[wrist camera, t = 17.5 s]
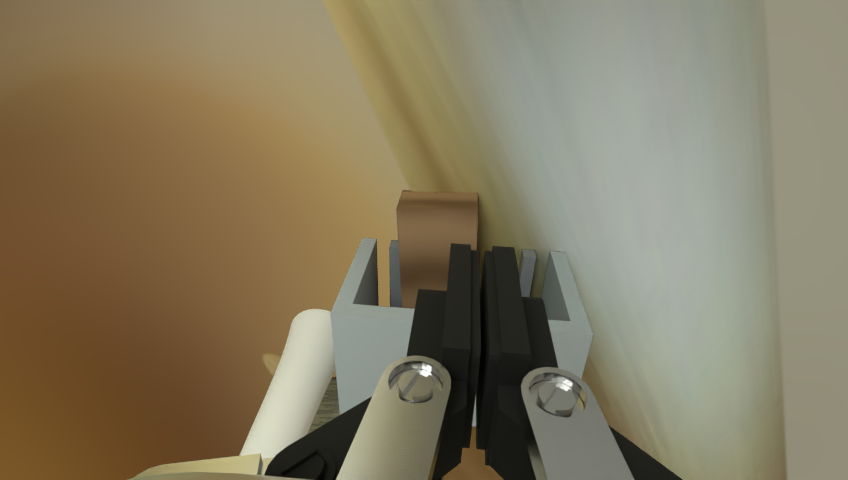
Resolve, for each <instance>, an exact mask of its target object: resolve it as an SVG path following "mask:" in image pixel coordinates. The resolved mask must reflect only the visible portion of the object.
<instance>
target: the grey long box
mask: <svg viewBox="0 0 848 480" xmlns="http://www.w3.org/2000/svg"><path fill="white" fill-rule="evenodd" d="M389 251H390V307H384V306H378V274H377V240H376V239H370V238H362V241H361V243H360V246H359V248H358V250H357V252H356V255H355V257H354V259H353V262H352V264H351V266H350V269H349V271H348V273H347V276H346V278H345V281H344V283H343V285H342V287H341V290H340V292H339V294H338V297H337V299H336V302H335V304H334V306H333V309H332V311H331V313H330V316H331V326H332V337H333V347H334V358H335V368H336V378H337V389H338V399H339V410H340V413H341V414H343V413H344V412H346V411H348V410H349V409H351V408H353V407H354V406H356V405H358V404H360V403H361V402H363V401H365V400H366V399H368V398H370V397H371V396H373V394H374V391H375V389H376V387H377V385H378V382H379V380H380V378H381V375H382V373H383V372H384V370H385V369H386V367H387V366H388V365H390V364H391V363H392V362H394V361H395V360H398V359H400V358H402V357H406V356H407V350H408V344H409V339H410V333H411V327H412V322H413V316H414V310H415V309H410V308H402V299H401V281H400V263H399V245H398V240H392V241H391V244H390V248H389ZM535 262H536V254H535V250H527V249H522V255H521V261H520V267H519V280H520V287H521V293H522V297H529V296H530V290H531V284H532V279H533V273H534V268H535ZM541 298H542V299H543V301H544V305H545V309H546V314H547V318H548V323H549V327H550V332H551V336H552V341H553V345H554V350H555V354H556V359H557V363H558V368H560V369H563V370H566V371H569V372H571V373H572V374H574V375H576V376H578V377H579V378H580V379H581V378H582V374H583V371H584V367H585V364H586V360H587V356H588V353H589V349H590V346H591V342H592V339H593V332H592V330H591V327H590V324H589V321H588V318H587V315H586V312H585V309H584V306H583V303H582V300H581V297H580V294H579V292H578V289H577V286H576V283H575V280H574V277H573V274H572V271H571V268H570V265H569V262H568V259H567V256H566V254H565V252H555V251H550V255H549V261H548V266H547V271H546V276H545V281H544V286H543V292H542V297H541ZM472 426H476V397H475V405H474V413H473V422H472Z"/></svg>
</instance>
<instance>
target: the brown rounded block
mask: <svg viewBox="0 0 848 480" xmlns="http://www.w3.org/2000/svg"><path fill="white" fill-rule="evenodd" d="M397 226H398V245H399V263H400V281H401V299H402V308H410V309H415V305H416V299H417V293H418V289H430V290H443V291H447V283H448V271H449V259H450V247H451V243H456V244H470V245H471V250H476V249H477V226H478V193H453V192H411V191H410V190H403V191H402V194H401V197H400V200H399V203H398V206H397Z"/></svg>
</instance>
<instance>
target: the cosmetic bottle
mask: <svg viewBox="0 0 848 480" xmlns="http://www.w3.org/2000/svg"><path fill="white" fill-rule="evenodd" d="M330 313H331V312H330V311H327V310H323V309H309V310H305V311H303V312H301V313H299V314H298V315H297V316H296V317H295V318H294V319H293V321H292V324H291V328H290V332H289V335H288V339H287V342H286V345H285V348H284V351H283V354H282V357H281V360H280V362H279V365H278V367H277V370H276V372H275V375H274V377H273V380H272V382H271V384H270V387H269V389H268V391H267V394H266V396H265V398H264V401H263V403H262V405H261V408H260V410H259V412H258V414H257V416H256V419H255V421H254V423H253V425H252V428H251V430H250V432H249V435H248V437H247V439H246V442H245V444H244V446H243V449H242V451H241V453H240V456H243V455H251V454H260V453H261V457H262V459H266V458H274V457H275V456H276V454H278V453H279V452H280V451H282V450H283V449H284V448H286V447H287V446H289V445H290V444H292V443H294V442H295V441H297V440H299V439H300V438H302V437H304V436H306V435H307V434H308V431H309V429H310V426H311V424H312V422H313V419H314V417H315V414H316V412H317V410H318V407H319V405H320V403H321V400H322V398H323V396H324V394H325V391H326V389H327V387H328V385H329V383H330V380H331V378H332V376H333V374H334V372H335V370H336V368H335V358H334V347H333V337H332V326H331V316H330Z"/></svg>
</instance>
